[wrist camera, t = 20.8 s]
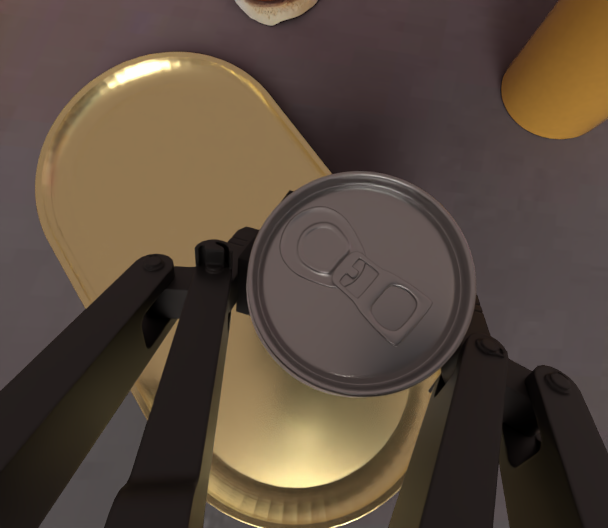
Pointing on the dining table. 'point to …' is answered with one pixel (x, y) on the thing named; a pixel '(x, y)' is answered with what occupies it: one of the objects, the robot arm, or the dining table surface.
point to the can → (360, 284)
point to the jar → (562, 72)
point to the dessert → (274, 9)
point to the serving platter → (181, 249)
